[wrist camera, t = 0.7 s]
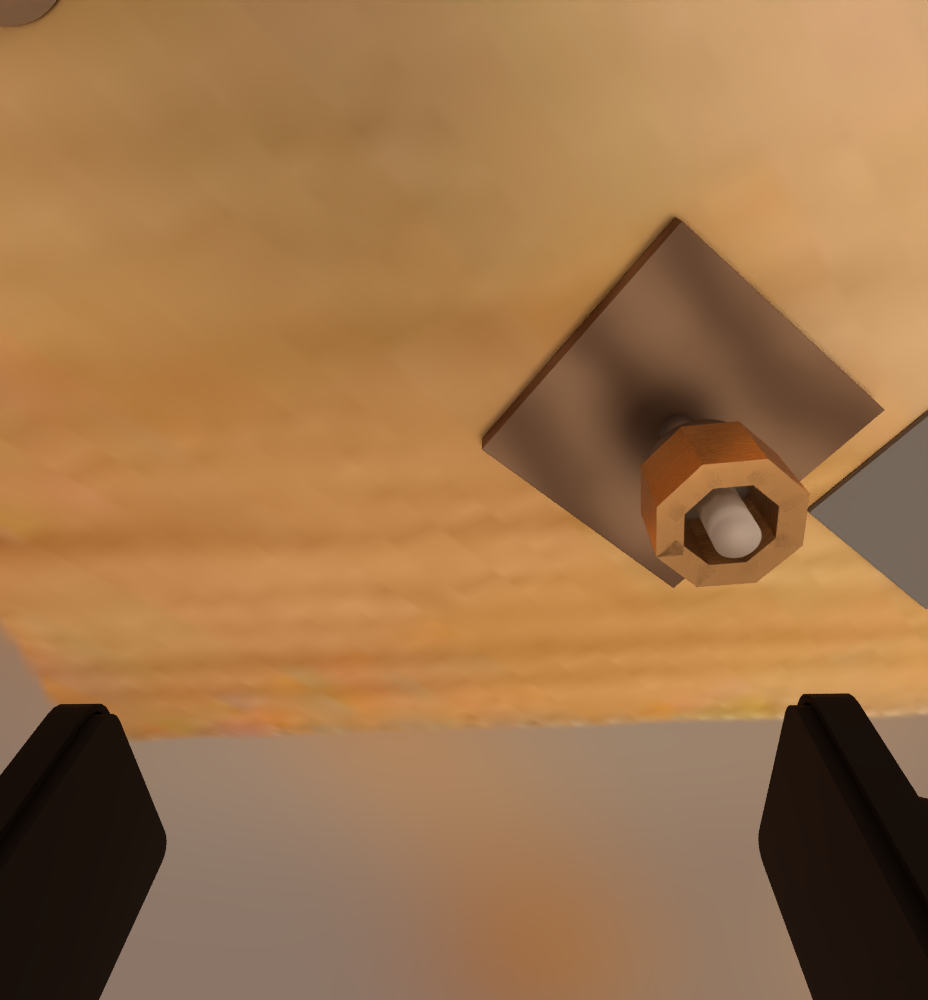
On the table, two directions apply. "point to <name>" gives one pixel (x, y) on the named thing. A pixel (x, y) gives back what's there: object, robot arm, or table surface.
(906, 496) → the rubber mat
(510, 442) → the post stand
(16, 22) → the travel mug
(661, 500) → the wooden ring
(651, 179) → the table surface
